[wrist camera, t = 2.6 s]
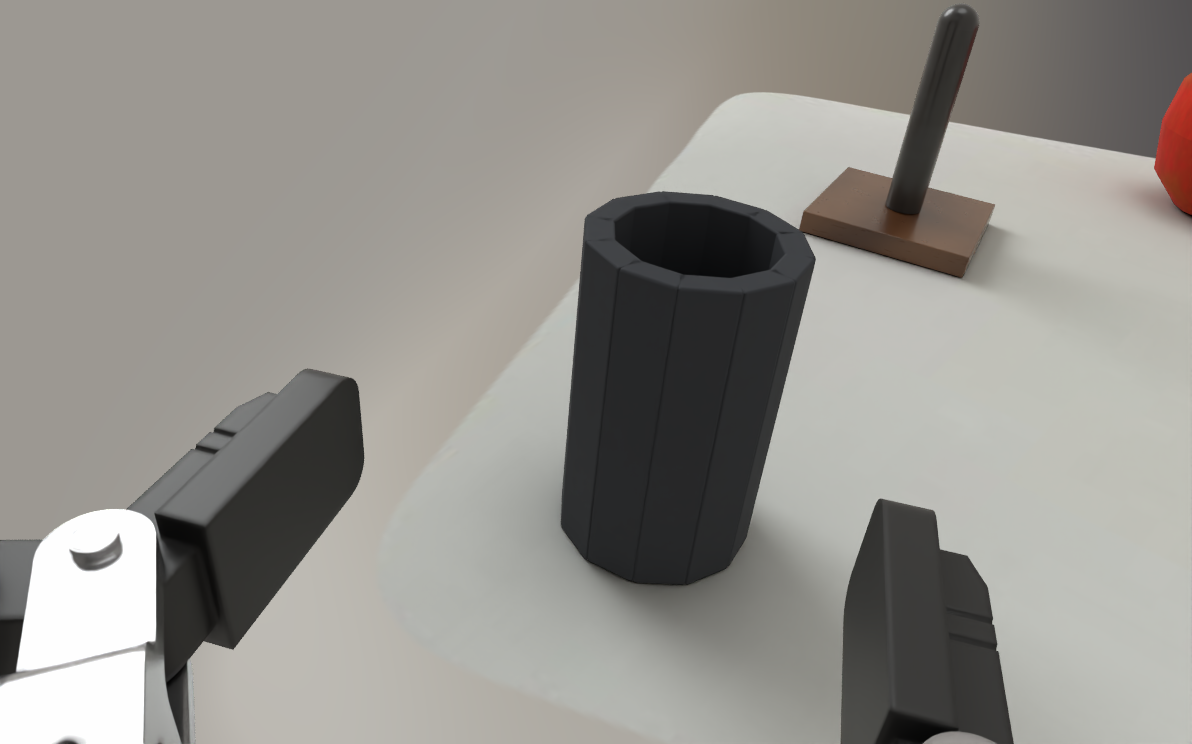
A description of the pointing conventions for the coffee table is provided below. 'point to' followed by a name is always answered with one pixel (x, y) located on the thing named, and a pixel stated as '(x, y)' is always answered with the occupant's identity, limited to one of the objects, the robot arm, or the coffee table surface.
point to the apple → (1177, 148)
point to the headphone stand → (913, 175)
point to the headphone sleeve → (677, 379)
